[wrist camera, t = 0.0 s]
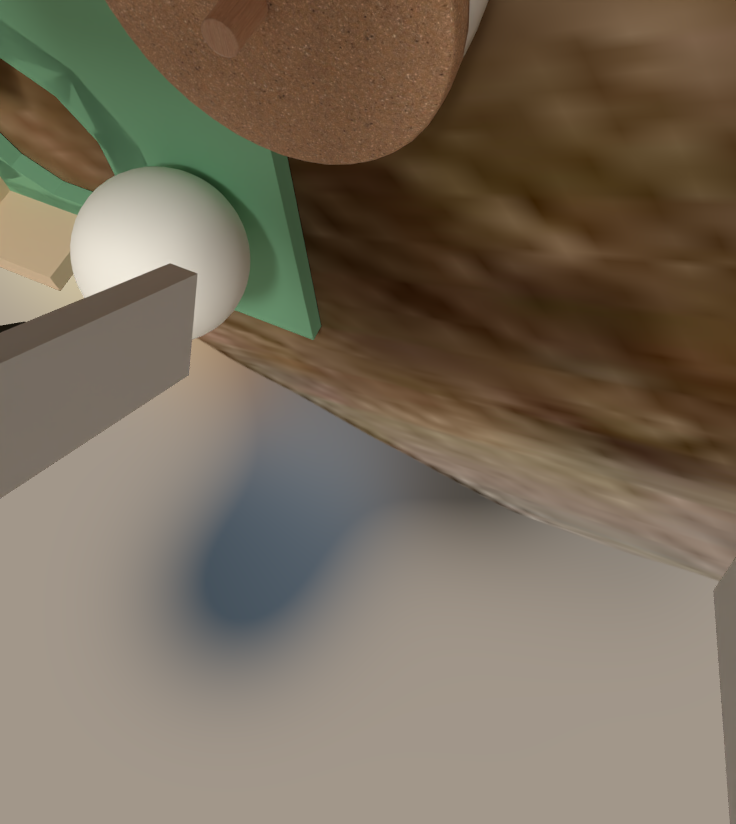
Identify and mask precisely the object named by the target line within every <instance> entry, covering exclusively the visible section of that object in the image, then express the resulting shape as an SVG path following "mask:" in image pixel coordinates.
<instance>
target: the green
mask: <svg viewBox="0 0 736 824" xmlns="http://www.w3.org/2000/svg"><path fill="white" fill-rule="evenodd" d="M0 58H1V59H3V60H4V61H6V62H7V63H8V64H10V65H11V66H13V67H14V68H16V69H17V70H18V71H20V72H21V73H23V74H24V75H26V76H27V77H29V78H30V79H31V80H33V81H34V82H36V83H37V84H39V85H40V86H41V87H43V88H44V89H46V90H47V91H49V92H50V93H52V94H53V95H54V96H56V97H57V98H58V100H59V101H60V102H61V103H62V104H63V105H64V106H65V107H66V108H67V109H68V110H69V111H70V112H71V113H72V115H73V116H74V117H75V118H76V119H77V120H78V121H79V122H80V123H81V124H82V125H83V126H84V127H85V128H86V130H87V131H88V132H89V133H90V134H91V135H92V136H93V137H94V138H95V139H96V140H97V141H98V143H99V145H100V147H101V149H102V151H103V153H104V154H105V156H106V158H107V160H108V162H109V164H110V166H111V168H112V170H113V172H114V174H115V176H116V175H117V174H120V173H123V172H126V171H128V170H131V169H135V168H141V167H149V166H159V167H168V168H174V169H179V170H182V171H185V172H188V173H190V174H193V175H195V176H197V177H199V178H201V179H203V180H204V181H206V182H208V183H209V184H210V185H212V186H213V187H214V188H216V189H217V190H218V191H219V192H220V193H221V194H222V195H223V196H224V197H225V198H226V199H227V200H228V202H229V203H230V204H231V205H232V207H233V208H234V209H235V211H236V212H237V214H238V216H239V218H240V220H241V222H242V224H243V226H244V229H245V231H246V235H247V239H248V243H249V249H250V272H249V277H248V282H247V286H246V288H245V291H244V294H243V296H242V298H241V299H240V301H239V303H238V305H237V307H236V308H235V309H234V310H236V311H239V312H241V313H244V314H247V315H249V316H252V317H254V318H257V319H260V320H262V321H265V322H268V323H270V324H273V325H275V326H278V327H281V328H283V329H286V330H289V331H291V332H294V333H297V334H299V335H302V336H304V337H307V338H310V339H312V340H314V338H315V336H316V335H317V333H318V331H319V329H320V327H321V323H320V318H319V313H318V308H317V303H316V298H315V293H314V288H313V283H312V278H311V273H310V268H309V263H308V258H307V253H306V248H305V243H304V238H303V233H302V228H301V223H300V218H299V213H298V208H297V203H296V198H295V193H294V188H293V183H292V178H291V173H290V168H289V163H288V158H287V156H283V155H281V154H278V153H276V152H273V151H271V150H269V149H266V148H264V147H261V146H259V145H257V144H255V143H253V142H251V141H249V140H247V139H245V138H243V137H241V136H239V135H237V134H236V133H234V132H233V131H231V130H229V129H228V128H226V127H225V126H223V125H222V124H220V123H219V122H217V121H216V120H214V119H213V118H211V117H210V116H209V115H208V114H206V113H205V112H204V111H202V110H201V109H200V108H198V107H197V106H196V105H194V104H193V103H192V102H190V101H189V100H188V99H187V98H186V97H185V96H184V95H183V94H182V93H181V92H180V91H179V90H177V89H176V88H175V87H174V86H173V85H172V84H171V83H170V82H169V81H168V80H167V79H166V78H165V77H164V76H163V75H162V74H161V73H160V72H159V71H158V70H157V69H156V68H155V66H154V65H153V64H152V63H151V62H150V61H149V60H148V59H147V58H146V57H145V55H144V54H143V53H142V52H141V50H140V49H139V48H138V46H137V45H136V44H135V43H134V41H133V40H132V39H131V38H130V36H129V35H128V34H127V32H126V31H125V29H124V28H123V27H122V25H121V24H120V22H119V21H118V19H117V18H116V16H115V15H114V13H113V12H112V11H111V9H110V8H109V6H108V4H107V3H106V1H105V0H0ZM92 193H93V192H92V191H89V190H86V189H83V188H81V187H78V186H75V185H72V184H69V183H67V182H64V181H62V180H61V179H59V178H58V177H56V176H55V175H53V174H52V173H50V172H48V171H47V170H45V169H44V168H42V167H41V166H39V165H38V164H36V163H35V162H33V161H32V160H30V159H29V158H27V157H26V156H24V155H23V154H21V153H20V152H19V151H18V150H17V149H16V148H15V147H14V146H13V145H12V144H11V143H10V142H9V141H8V140H7V139H6V138H5V137H4V136H3V135H2V134H1V133H0V267H1V268H4V269H6V270H9V271H11V272H14V273H16V274H19V275H21V276H24V277H26V278H29V279H31V280H34V281H36V282H39V283H42V284H44V285H47V286H49V287H51V288H54V289H56V290H59V291H61V289H62V288H63V287H64V285H65V284H66V283H67V282H68V280H69V279H70V277H71V276H72V275H73V270H72V265H71V257H70V242H71V234H72V230H73V226H74V223H75V219H76V217H77V215H78V213H79V211H80V209H81V207H82V206H83V204H84V203H85V201H86V200H87V198H88V197H89V196H90V195H91V194H92Z"/></svg>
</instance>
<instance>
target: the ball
mask: <svg viewBox="0 0 736 824" xmlns="http://www.w3.org/2000/svg"><path fill="white" fill-rule="evenodd" d="M70 257H71V265H72V270H73V274H74V277H75V279H76V282H77V285H78V287H79V289H80V291H81V293H82V295H83V297H84V298H86V297H89V296H91V295H93V294H96V293H98V292H101V291H103V290H106V289H108V288H111V287H113V286H115V285H118V284H120V283H123V282H125V281H128V280H130V279H133V278H135V277H137V276H140V275H142V274H145V273H147V272H150V271H152V270H155V269H157V268H159V267H162V266H164V265H167V264H169V263H171V264H173V265H176V266H179V267H181V268H184V269H187V270H190V271H192V272H195V273H198V276H197V287H196V298H195V310H194V321H193V332H192V339H195V338H198V337H200V336H203V335H205V334H206V333H208V332H210V331H212V330H214V329H215V328H216V327H218V326H219V325H220V324H221V323H223V322H224V321H225V320H226V319H227V318H228V317H229V316H230V315H231V313H232V312H233V311H234V309H235V308H236V307H237V305H238V303H239V301H240V299H241V298H242V296H243V294H244V291H245V288H246V286H247V282H248V277H249V272H250V249H249V243H248V239H247V235H246V231H245V229H244V226H243V224H242V222H241V220H240V218H239V216H238V214H237V212H236V211H235V209H234V208H233V207H232V205H231V204H230V203H229V202H228V200H227V199H226V198H225V197H224V196H223V195H222V194H221V193H220V192H219V191H218V190H217V189H216V188H214V187H213V186H212V185H210V184H209V183H208V182H206V181H204V180H203V179H201V178H199V177H197V176H195V175H193V174H190V173H188V172H185V171H182V170H179V169H174V168H168V167H159V166H149V167H141V168H135V169H131V170H128V171H126V172H123V173H120V174H117V175H116V176H114V177H112V178H110V179H108V180H107V181H105V182H104V183H103V184H102V185H100V186H99V187H98V188H96V189H95V190H94V192H93V193H92V194H91V195H90V196H89V197H88V198H87V200H86V201H85V203H84V204H83V206H82V207H81V209H80V211H79V213H78V215H77V217H76V219H75V223H74V226H73V230H72V234H71V242H70Z"/></svg>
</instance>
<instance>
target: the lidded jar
mask: <svg viewBox="0 0 736 824" xmlns="http://www.w3.org/2000/svg"><path fill="white" fill-rule="evenodd" d="M105 1H106V3H107V4H108V6H109V8H110V9H111V11H112V12H113V13H114V15H115V16H116V18H117V19H118V21H119V22H120V24H121V25H122V27H123V28H124V29H125V31H126V32H127V34H128V35H129V36H130V38H131V39H132V40H133V41H134V43H135V44H136V45H137V46H138V48H139V49H140V50H141V52H142V53H143V54H144V55H145V57H146V58H147V59H148V60H149V61H150V62H151V63H152V64H153V65H154V66H155V68H156V69H157V70H158V71H159V72H160V73H161V74H162V75H163V76H164V77H165V78H166V79H167V80H168V81H169V82H170V83H171V84H172V85H173V86H174V87H175V88H176V89H177V90H179V91H180V92H181V93H182V94H183V95H184V96H185V97H186V98H187V99H188V100H189V101H190V102H192V103H193V104H194V105H196V106H197V107H198V108H200V109H201V110H202V111H204V112H205V113H206V114H208V115H209V116H210V117H211V118H213V119H214V120H216V121H217V122H219V123H220V124H222V125H223V126H225V127H226V128H228V129H229V130H231V131H233V132H234V133H236V134H237V135H239V136H241V137H243V138H245V139H247V140H249V141H251V142H253V143H255V144H257V145H259V146H261V147H264V148H266V149H269V150H271V151H273V152H276V153H278V154H281V155H283V156H287V157H291V158H295V159H299V160H303V161H307V162H314V163H320V164H327V165H339V164H355V163H361V162H367V161H372V160H376V159H378V158H381V157H384V156H386V155H389V154H392V153H394V152H396V151H397V150H399V149H401V148H402V147H404V146H405V145H407V144H408V143H410V142H412V141H413V140H414V139H415V138H416V137H417V136H418V135H419V134H420V133H421V132H422V131H423V130H424V129H425V128H426V127H427V126H428V125H429V124H430V122H431V120H432V119H433V117H434V116H435V114H436V113H437V111H438V110H439V108H440V107H441V105H442V103H443V102H444V100H445V98H446V97H447V95H448V93H449V91H450V89H451V87H452V85H453V82H454V79H455V77H456V74H457V72H458V69H459V67H460V64H461V62H462V59H463V57H464V56H465V54H466V52H467V50H468V48H469V46H470V44H471V42H472V40H473V38H474V36H475V34H476V31H477V29H478V26H479V24H480V21H481V19H482V16H483V13H484V11H485V8H486V6H487V3H488V0H105Z"/></svg>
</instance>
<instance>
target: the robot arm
mask: <svg viewBox="0 0 736 824" xmlns="http://www.w3.org/2000/svg"><path fill="white" fill-rule="evenodd" d="M197 276H198V273H195V272H192V271H190V270H187V269H184V268H181V267H179V266H176V265H173V264H171V263H169V264H167V265H164V266H162V267H159V268H157V269H155V270H152V271H150V272H147V273H145V274H142V275H140V276H137V277H135V278H133V279H130V280H128V281H125V282H123V283H120V284H118V285H115V286H113V287H111V288H108V289H106V290H103V291H101V292H98V293H96V294H93V295H91V296H89V297H86V298H84V299H81V300H79V301H77V302H74V303H72V304H69V305H67V306H64V307H62V308H59V309H57V310H54V311H52V312H50V313H47V314H45V315H42V316H40V317H37V318H35V319H33V320H30V321H28V322H20V323H14V324H8V325H2V326H0V498H2V497H3V496H5V495H6V494H8V493H9V492H11V491H12V490H14V489H15V488H17V487H18V486H20V485H22V484H23V483H25V482H26V481H28V480H29V479H31V478H32V477H34V476H35V475H37V474H38V473H40V472H41V471H43V470H45V469H46V468H48V467H49V466H51V465H52V464H54V463H55V462H57V461H58V460H60V459H61V458H63V457H64V456H66V455H67V454H69V453H70V452H72V451H73V450H75V449H76V448H78V447H80V446H81V445H83V444H84V443H86V442H87V441H88V440H90V439H92V438H93V437H95V436H96V435H98V434H99V433H101V432H102V431H104V430H106V429H107V428H109V427H110V426H112V425H113V424H115V423H116V422H118V421H119V420H121V419H122V418H124V417H125V416H127V415H128V414H130V413H131V412H133V411H135V410H136V409H137V408H139V407H140V406H142V405H144V404H145V403H147V402H148V401H150V400H151V399H153V398H154V397H156V396H157V395H159V394H160V393H162V392H164V391H165V390H167V389H168V388H170V387H171V386H173V385H174V384H176V383H177V382H179V381H180V380H182V379H183V378H185V377H186V376H188V375H189V366H190V355H191V342H192V332H193V321H194V310H195V298H196V287H197ZM714 604H715V618H716V633H717V647H718V661H719V675H720V689H721V703H722V716H723V730H724V744H725V758H726V773H727V787H728V802H729V816H730V824H736V557H735V559H734V560H733V562H732V564H731V565H730V567H729V568H728V570H727V571H726V573H725V574H724V576H723V577H722V579H721V580H720V582H719V583H718V585H717V586H716V588H715V589H714Z"/></svg>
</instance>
